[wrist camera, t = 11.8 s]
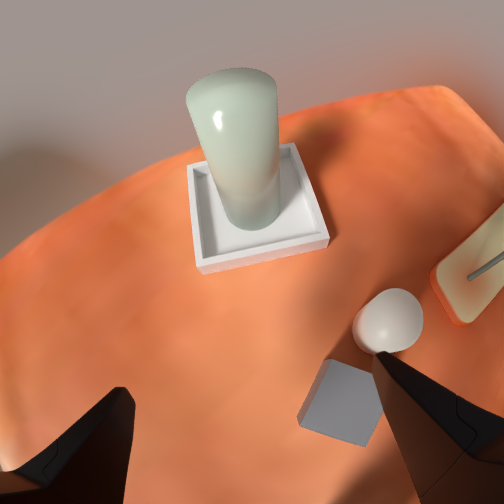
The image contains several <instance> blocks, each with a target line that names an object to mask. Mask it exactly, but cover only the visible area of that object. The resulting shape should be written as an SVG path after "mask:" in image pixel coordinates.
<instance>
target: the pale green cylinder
mask: <svg viewBox="0 0 504 504" xmlns="http://www.w3.org/2000/svg"><path fill="white" fill-rule="evenodd" d="M186 103H187V106H188V109H189V112H190V115H191V118H192V121H193V123H194V126H195V129H196V132H197V135H198V138H199V141H200V144H201V146H202V149H203V152H204V155H205V158H206V161H207V163H208V166H209V169H210V172H211V175H212V177H213V180H214V183H215V186H216V189H217V191H218V194H219V197H220V200H221V202H222V205H223V208H224V211H225V214H226V216H227V218H228V220H229V221H230V222H231V223H232V224H233V225H234V226H236V227H237V228H239V229H242V230H247V231H256V230H261V229H263V228H266V227H268V226H269V225H271V224H272V223H273V222H274V221H275V220H276V219H277V217H278V215H279V213H280V210H281V183H280V150H279V125H278V103H277V85H276V82H275V81H274V79H273V78H272V77H271V76H270V75H268V74H267V73H265V72H262V71H259V70H256V69H251V68H230V69H225V70H220V71H217V72H215V73H212V74H209V75H207V76H205V77H203V78H202V79H200V80H199V81H197V82H196V83H195V84H194V85H193V86H192V87H191V88H190V89H189V91H188V93H187V96H186Z"/></svg>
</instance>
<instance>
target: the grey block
mask: <svg viewBox="0 0 504 504" xmlns="http://www.w3.org/2000/svg"><path fill="white" fill-rule="evenodd" d="M382 413H383V408H382V405H381V401H380V398H379V395H378V391H377V388H376V385H375V382H374V379H373V375H372V373H369V372H366V371H363V370H360V369H358V368H355V367H352V366H350V365H347V364H344V363H342V362H339V361H336V360H334V359H327V360H323V363H322V365H321V367H320V369H319V372H318V374H317V376H316V378H315V380H314V382H313V385H312V387H311V389H310V391H309V393H308V395H307V397H306V399H305V401H304V403H303V405H302V407H301V409H300V411H299V413H298V415H297V419H298V422H299V426H301V427H304V428H306V429H309V430H312V431H315V432H317V433H320V434H323V435H326V436H329V437H332V438H335V439H339V440H342V441H345V442H348V443H352V444H355V445H359V446H362V447H366V445H367V443H368V441H369V440H370V438H371V436H372V434H373V432H374V430H375V428H376V425H377V423H378V421H379V419H380V417H381V415H382Z"/></svg>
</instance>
